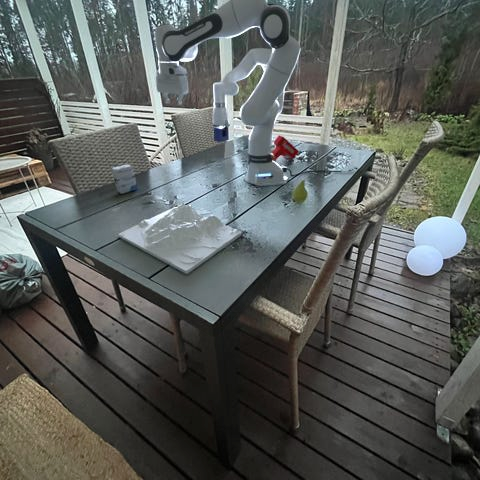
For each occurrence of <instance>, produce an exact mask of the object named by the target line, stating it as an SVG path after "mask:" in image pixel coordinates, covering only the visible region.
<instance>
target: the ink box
mask: <svg viewBox="0 0 480 480" xmlns="http://www.w3.org/2000/svg"><path fill="white" fill-rule="evenodd" d="M110 170H111V173H112V176H113V181H114V184H115V188H116V191H117V192H118V193H119V194H121V195H122V194H126V193H130V192H132V191H133V192H134V191H136V190H138V185H137V181H136V177H135V171H134V167H133V165H130V164H124V165H120V166H119V165H118V166H115V167H111V168H110Z"/></svg>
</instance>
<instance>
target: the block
mask: <svg viewBox="0 0 480 480" xmlns="http://www.w3.org/2000/svg"><path fill="white" fill-rule="evenodd" d="M224 127H225V126H224ZM229 137H230V136H229V128H228V129H227V136H225V137H223V127H222V126H219V127H213V141H214V142H218V143H221V142H226V141H229Z"/></svg>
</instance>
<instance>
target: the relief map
mask: <svg viewBox="0 0 480 480" xmlns="http://www.w3.org/2000/svg"><path fill="white" fill-rule="evenodd" d="M242 235H243V231H242V230H239V229H238V228H234V227H231V226H229V225H226V224H224V223H223V222H222V221H221V220H220V219H219V218H218V216H216V215H214V214H212V215H210V216H207V217H205V216H204V215H203V214H199V213H198V212H197V211H196V209H195V208H194V207H193V206H192V205H191V204H187V205H186V204H185V202H182V204H180V205H179V206H174V207H171V208H170V209H168V210H165V211H163V212H161V213H159V214H157V215H154V216H153V217H150V218H149V219H143V220H141V221H140V222H139V223H138V224H137V225H134V226H132V227H129V228H128V229H126V230H123V231H122V232H120V233H117V236H118V238H120V239H121V240H123V241H125V242H127V243H129V244H131V245H132V246H134V247H136V248H138V249H140V250H141V251H143V252H145V253H147V254H149V255H151V256H153V257H154V258H156V259H158V260H160V261H162V262H163V263H165V264H166V265H169V266H171V267H173V268H175V269H176V270H178V271H180V272H182V273H183V274H185V275H188V274H190V273H191V272H192V271H193V270H195V269H196V268H198V267H199V266H201V265H202V264H203V263H205V262H206V261H208V260H209V259H211V258H212V257H214V256H215V255H216V254H217V253H219V252H220V251H222V250H223V249H224V248H226V247H227V246H229V245H230V244H231V243H233V242H235V241H236V240H237V239H238V238H240V237H241V236H242Z"/></svg>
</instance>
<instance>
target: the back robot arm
mask: <svg viewBox="0 0 480 480" xmlns="http://www.w3.org/2000/svg"><path fill="white" fill-rule="evenodd" d="M272 51H273V48H265V47H258V48H256V47H255V48H251V49H250V50H249V51H247V53H246V54H245V56H244V57H243V58H242V60H241V61H240V62H239V63H238V65H237V66H235V67H234V68H233V69H231V70H230V71H228V72H227V73H226V74H225V75H224V76H223V78H222V79H221V81H220V82H214V83H213V85H212V87H213V106H214V107H213V108H212V122H211V123H212V125H213V128H215V127H220V126H222V127H223V137H225V136H227V129H228V130H229V127H230V126H231V124H230V122H229V114H228V108H227V96H228V97H229V96H230V97H234V96H236V95H237V94H238V93H239V85H238V83H237V82H239V81H242V80H243V79H244V80H245V79H246V78H248V77H249V76H250V74H251V73H252V72H253V71H254V70H255V68H256V67H257V66H261V67H262V69H263V72H264V71H265V68H266V66H267V64H268V61H269V59H270V56H271V54H272ZM284 100H285V89H284V91H283V93H282V94H281V95H280V96H279V97H278V98H277V102H278V103H279V106H280V112H279V115H280V114H281V113H282V111H283V108H284ZM224 126H225V127H224ZM273 133H274V132H272V136H271V148H272V147H275V144H274V141H275V140H276V138H273Z"/></svg>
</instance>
